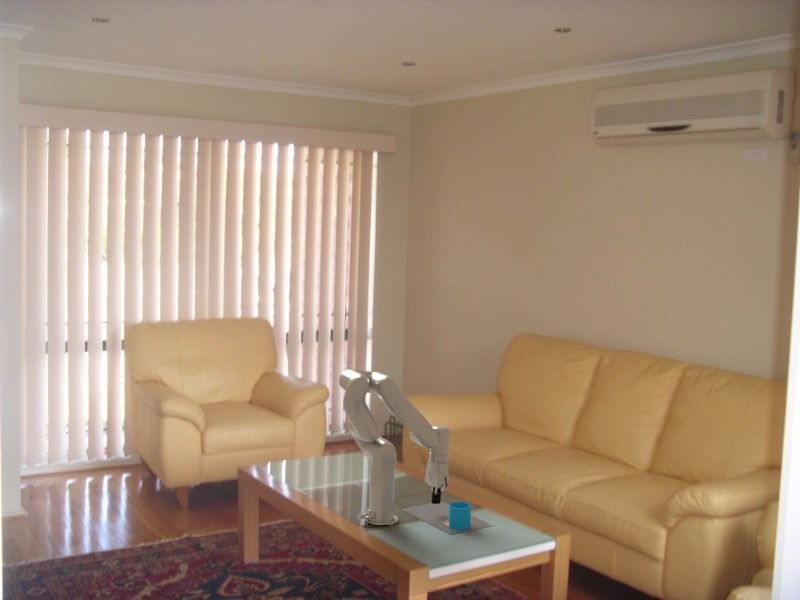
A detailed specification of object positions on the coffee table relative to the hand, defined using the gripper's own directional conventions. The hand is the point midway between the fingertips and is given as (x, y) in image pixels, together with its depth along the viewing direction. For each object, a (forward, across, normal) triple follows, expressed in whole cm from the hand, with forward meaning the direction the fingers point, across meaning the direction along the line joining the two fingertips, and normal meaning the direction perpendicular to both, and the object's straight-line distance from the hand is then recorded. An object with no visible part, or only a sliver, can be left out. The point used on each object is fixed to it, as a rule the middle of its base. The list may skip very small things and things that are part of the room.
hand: (435, 503), depth 337 cm
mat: (+4, +5, +2) cm, 7 cm away
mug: (+4, +15, 0) cm, 15 cm away
